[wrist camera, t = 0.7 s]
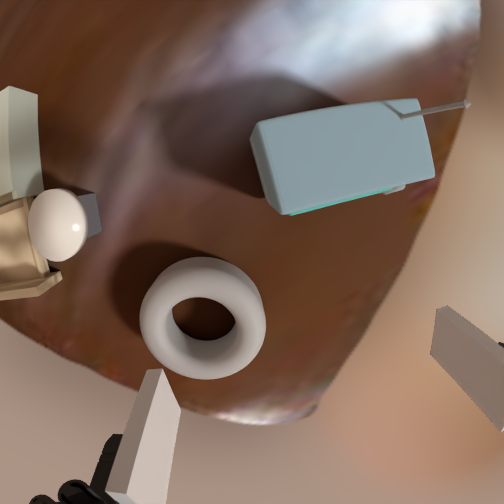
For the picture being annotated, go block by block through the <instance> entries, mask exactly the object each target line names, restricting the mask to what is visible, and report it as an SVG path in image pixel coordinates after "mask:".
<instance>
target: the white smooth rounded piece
mask: <svg viewBox="0 0 504 504" xmlns="http://www.w3.org/2000/svg"><path fill="white" fill-rule="evenodd" d="M28 229H29V234H30V238H31V240H32V243H33V245H34V246H35V248H36V249H37V251H38V252H39V253H40V254H41V255H42V256H44V257H45V258H47V259H49V260H51V261H64V260H66V259H68V258H70V257H71V256H73V255H75V254H76V253H78V252H79V251H80V250H81V248H82V247H83V245H84V243H85V241H86V238H87V234H88V217H87V213H86V210H85V207H84V205H83V203H82V202H81V200H80V199H79V198H78V196H77V195H75V194H74V193H73V192H71V191H70V190H67V189H63V188H57V189H50V190H46V191H44V192H42V193H41V194H39V195H38V196H37V197H36V199H35V200H34V201H33V203H32V205H31V208H30V211H29V216H28Z"/></svg>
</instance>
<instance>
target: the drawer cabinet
mask: <svg viewBox="0 0 504 504" xmlns="http://www.w3.org/2000/svg"><path fill="white" fill-rule="evenodd" d="M10 192H12V196H13V199H18V198H23V197H29V196H33V197H34V196H37V195H39V194H41V193H42V192H44V186H43V179H42V171H41V161H40V150H39V136H38V95H37V94H34V93H31V92H27V91H24V90H21V89H18V88H14V87H11V86H8V87H7V88H5V89H4V90H2V91H1V92H0V197H1V196H3V195H5V194H8V193H10Z"/></svg>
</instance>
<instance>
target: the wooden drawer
mask: <svg viewBox="0 0 504 504" xmlns="http://www.w3.org/2000/svg"><path fill="white" fill-rule="evenodd" d="M33 201H34V197H33V196H29V197H23V198H18V199H13V196H12V192H10V193H8V194H5V195H3V196H1V197H0V300H8V299H17V298H26V297H35V296H40V295H41V294H43V293H44V292H45V291H47V290H48V289H49V288H51V287H52V286H54V285H55V284H56V283H58V282H59V281H61V280H62V276H61V272H60V271H58V272H52V273H50V270H49V267H48V263H47V259H46V258H45V257H44V256H42V255H41V254H40V253H39V252H38V251H37V249H36V248H35V246H34V245H33V243H32V240H31V238H30V234H29V229H28V216H29V211H30V208H31V205H32V203H33Z"/></svg>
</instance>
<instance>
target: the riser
mask: <svg viewBox="0 0 504 504" xmlns="http://www.w3.org/2000/svg"><path fill="white" fill-rule="evenodd" d="M78 198H79V199H80V200H81V202H82V203H83V205H84V207H85V210H86V213H87V217H88V234H87V238H89V237H91V236H93V235H95V234H97V233H99V232H101V231H103V230H102V225H101V220H100V215H99V210H98V205H97V199H96V193H93V194H87V195H82V196H78ZM87 238H86V239H87Z"/></svg>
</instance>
